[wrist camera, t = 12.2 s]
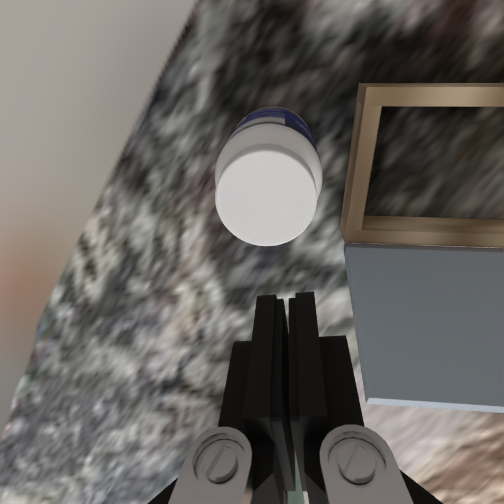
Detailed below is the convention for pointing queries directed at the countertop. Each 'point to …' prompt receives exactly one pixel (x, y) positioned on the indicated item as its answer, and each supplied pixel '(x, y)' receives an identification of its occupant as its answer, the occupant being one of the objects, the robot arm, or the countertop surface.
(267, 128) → the pill bottle
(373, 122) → the hinged lid wooden box
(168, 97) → the countertop surface
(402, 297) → the cover
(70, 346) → the countertop surface
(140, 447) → the countertop surface
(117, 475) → the countertop surface
